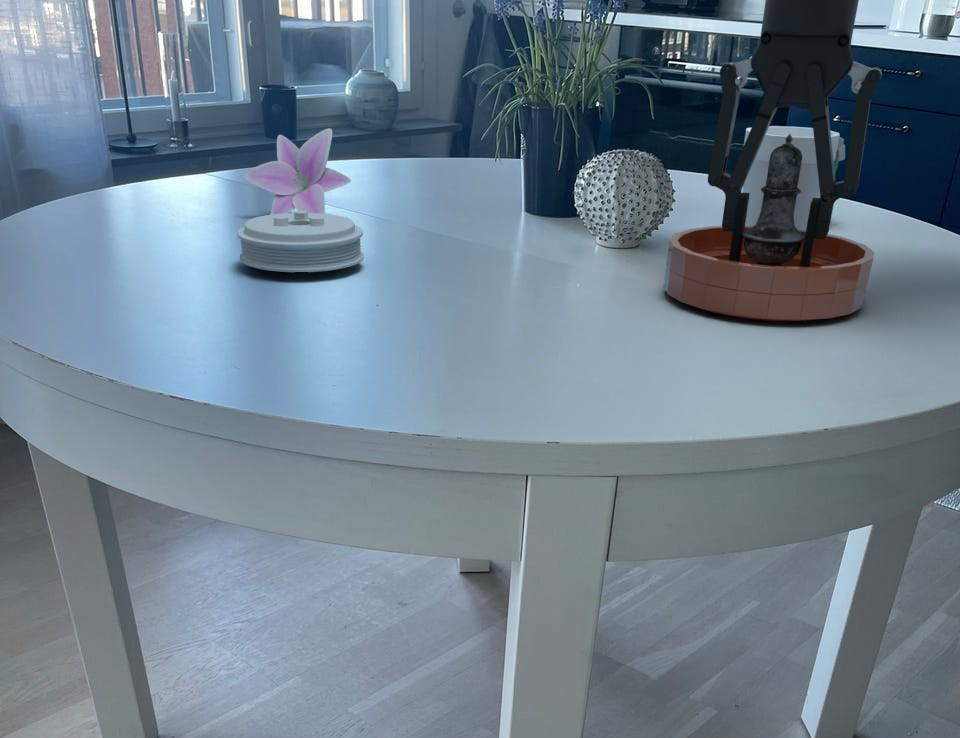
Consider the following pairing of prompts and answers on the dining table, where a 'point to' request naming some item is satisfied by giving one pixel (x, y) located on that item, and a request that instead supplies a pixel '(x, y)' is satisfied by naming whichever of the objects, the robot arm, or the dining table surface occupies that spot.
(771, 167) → the salt shaker
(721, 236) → the bowl
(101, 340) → the dining table surface
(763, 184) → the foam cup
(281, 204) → the lily
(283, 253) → the lid
